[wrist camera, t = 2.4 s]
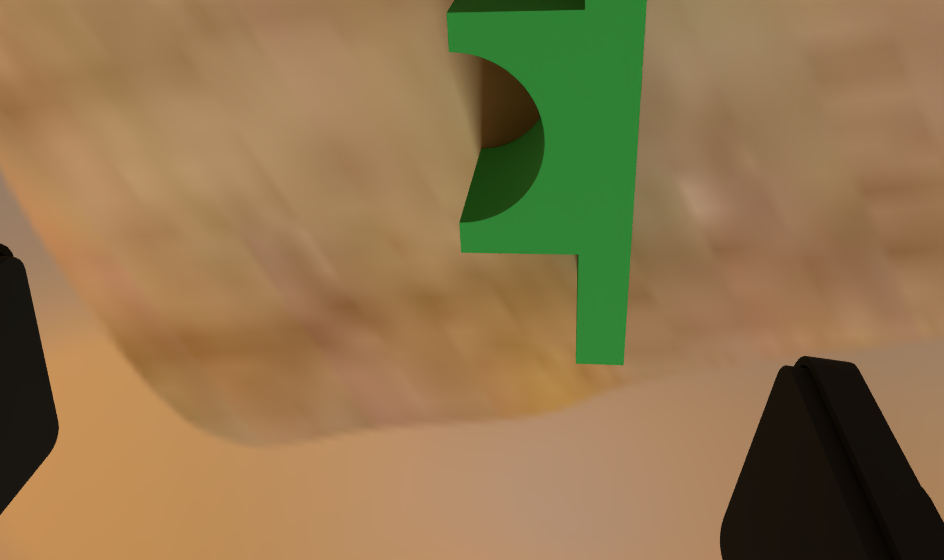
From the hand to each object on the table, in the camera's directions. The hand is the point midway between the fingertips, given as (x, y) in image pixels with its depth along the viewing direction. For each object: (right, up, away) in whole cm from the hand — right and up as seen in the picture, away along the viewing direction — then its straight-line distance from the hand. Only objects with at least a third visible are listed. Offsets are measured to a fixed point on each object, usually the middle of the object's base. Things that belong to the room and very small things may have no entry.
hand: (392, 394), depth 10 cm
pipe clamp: (+3, +7, +10) cm, 13 cm away
